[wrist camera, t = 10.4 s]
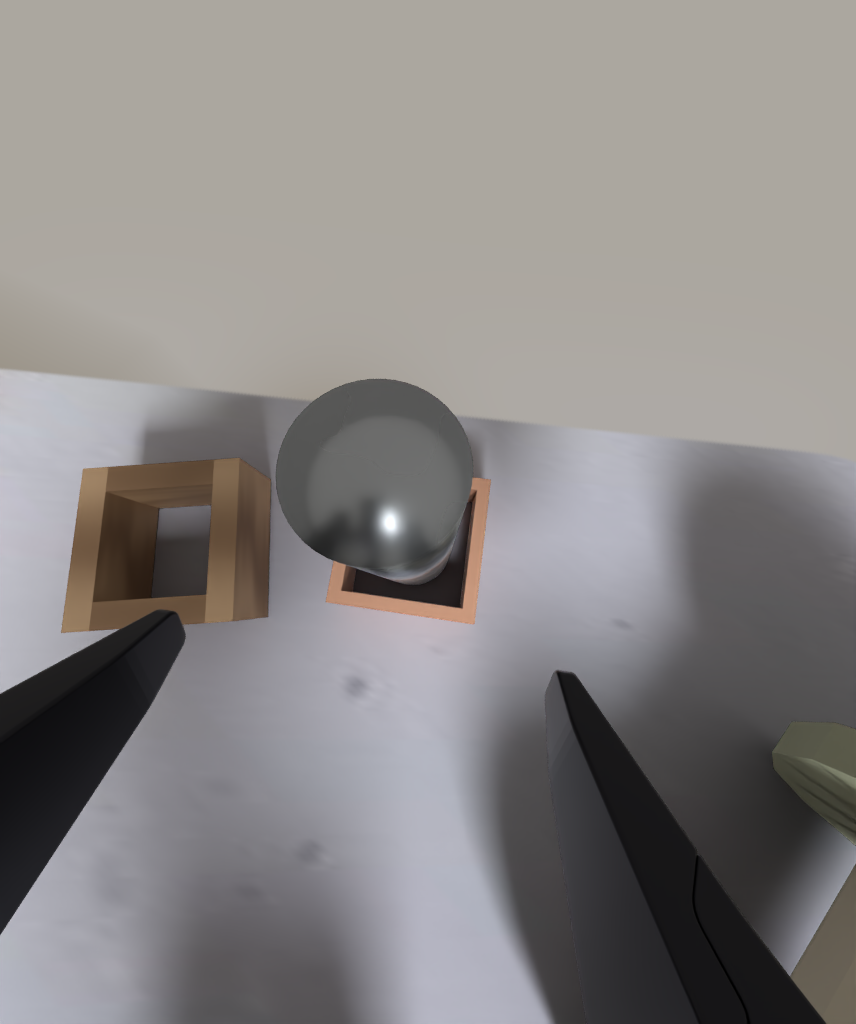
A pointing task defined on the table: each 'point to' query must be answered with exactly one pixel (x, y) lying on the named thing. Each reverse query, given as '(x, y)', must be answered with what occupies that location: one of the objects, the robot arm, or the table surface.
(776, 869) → the table surface
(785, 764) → the spool
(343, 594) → the socket block
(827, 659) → the table surface
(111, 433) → the table surface
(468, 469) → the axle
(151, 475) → the wooden square frame
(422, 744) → the table surface
